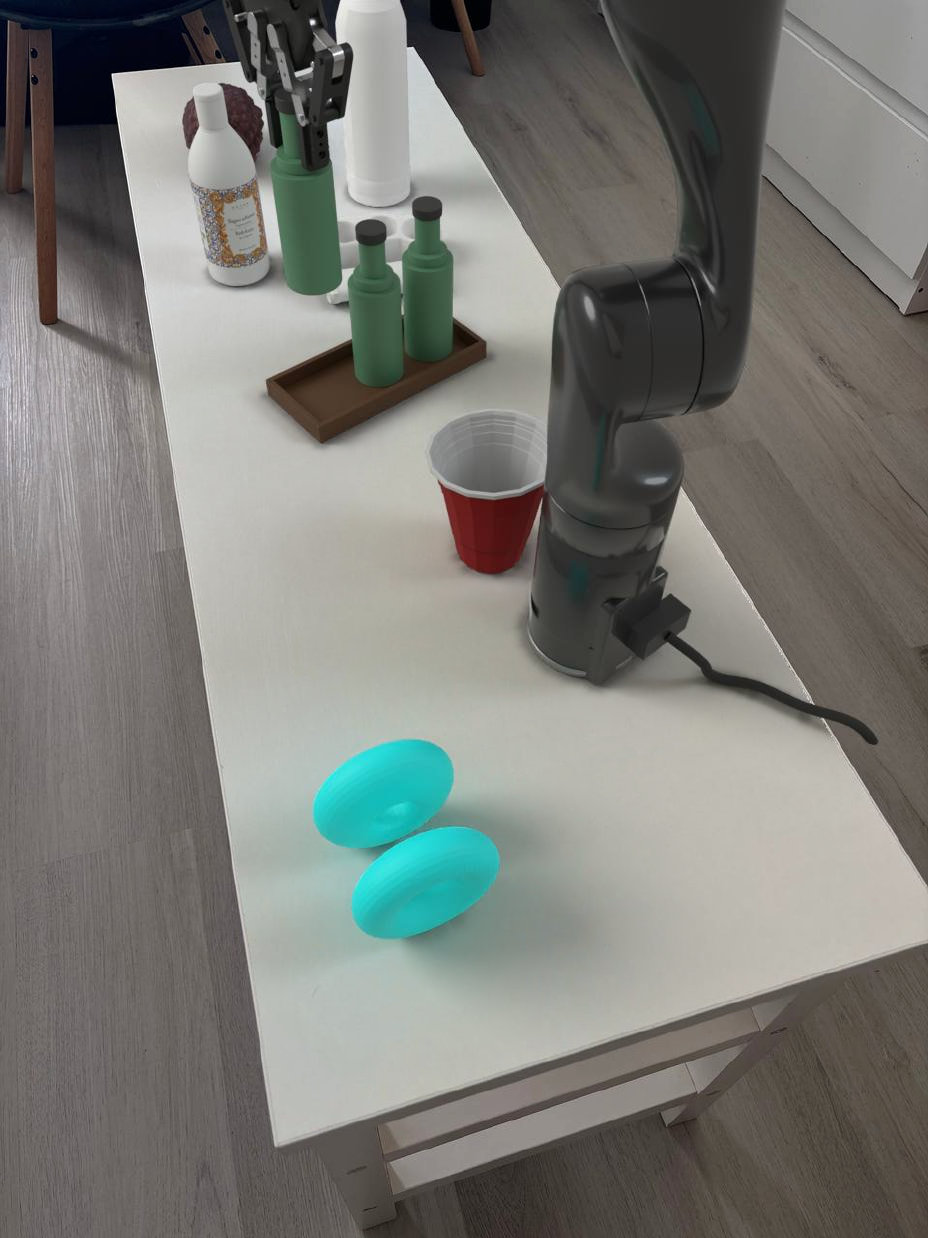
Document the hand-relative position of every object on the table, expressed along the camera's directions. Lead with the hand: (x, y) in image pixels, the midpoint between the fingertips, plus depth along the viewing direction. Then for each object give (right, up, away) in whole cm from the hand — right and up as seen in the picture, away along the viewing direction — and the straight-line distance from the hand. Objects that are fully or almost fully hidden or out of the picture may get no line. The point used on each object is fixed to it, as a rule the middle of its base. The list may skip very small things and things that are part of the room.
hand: (300, 155), depth 78 cm
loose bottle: (0, -7, +9) cm, 11 cm away
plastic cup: (+15, -31, +8) cm, 35 cm away
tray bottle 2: (+9, -8, +25) cm, 28 cm away
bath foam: (-13, +3, +34) cm, 36 cm away
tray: (+4, -12, +23) cm, 26 cm away
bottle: (+2, +17, +45) cm, 48 cm away
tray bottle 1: (+4, -12, +22) cm, 25 cm away
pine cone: (-17, +23, +49) cm, 57 cm away
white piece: (+2, +3, +34) cm, 35 cm away
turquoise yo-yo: (+9, -55, -10) cm, 56 cm away
